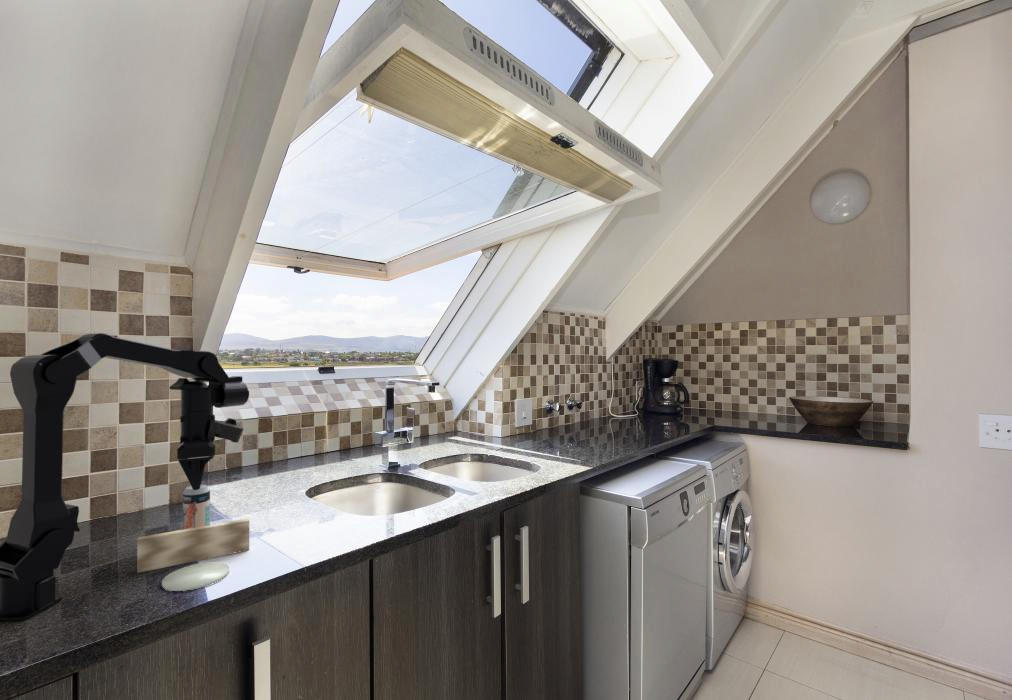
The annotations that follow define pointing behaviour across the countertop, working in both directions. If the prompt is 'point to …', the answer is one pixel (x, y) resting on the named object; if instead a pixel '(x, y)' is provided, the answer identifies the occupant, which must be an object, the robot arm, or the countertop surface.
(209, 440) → the robot arm
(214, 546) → the birch screen
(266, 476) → the countertop surface
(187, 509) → the beer can
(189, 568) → the sage pad
